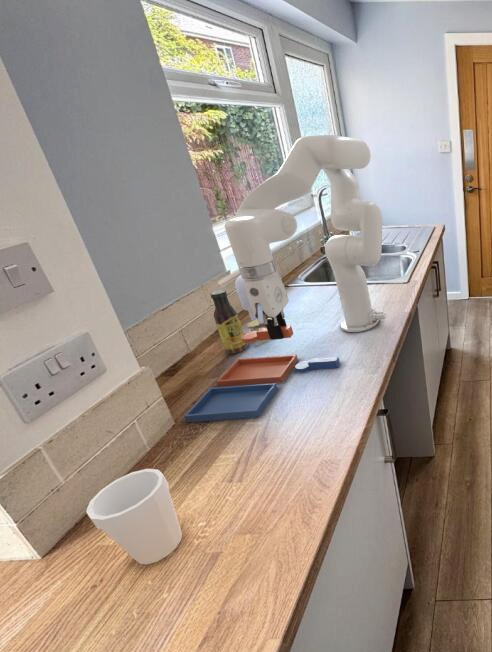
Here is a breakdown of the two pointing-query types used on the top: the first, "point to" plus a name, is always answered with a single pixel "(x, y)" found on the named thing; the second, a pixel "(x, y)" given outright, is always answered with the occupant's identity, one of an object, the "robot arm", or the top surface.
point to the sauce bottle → (228, 323)
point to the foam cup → (138, 515)
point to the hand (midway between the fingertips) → (279, 335)
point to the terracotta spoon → (265, 334)
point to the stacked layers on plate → (254, 327)
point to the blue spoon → (317, 364)
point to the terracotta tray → (258, 371)
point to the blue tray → (232, 402)
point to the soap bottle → (243, 296)
